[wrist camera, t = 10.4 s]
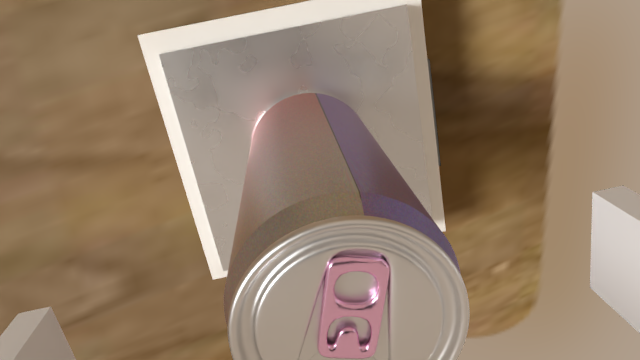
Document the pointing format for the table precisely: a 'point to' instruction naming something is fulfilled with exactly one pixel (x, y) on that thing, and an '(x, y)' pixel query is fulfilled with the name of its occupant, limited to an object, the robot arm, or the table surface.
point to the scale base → (322, 5)
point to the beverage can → (336, 248)
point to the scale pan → (287, 80)
